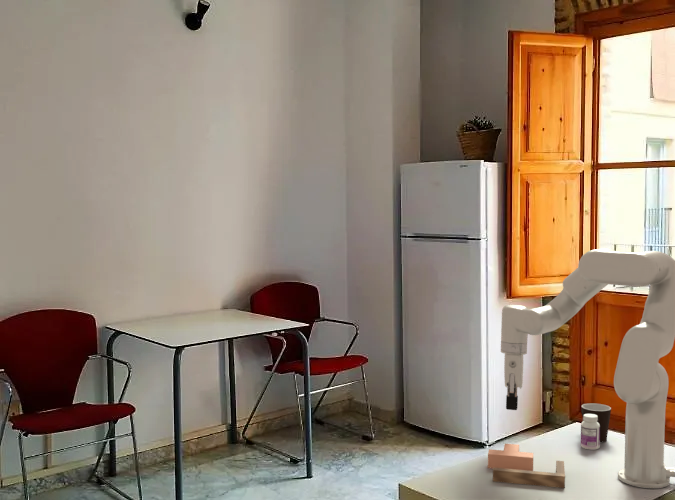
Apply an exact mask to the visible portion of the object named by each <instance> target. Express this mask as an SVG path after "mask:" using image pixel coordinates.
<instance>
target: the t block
mask: <svg viewBox="0 0 675 500" xmlns="http://www.w3.org/2000/svg"><path fill="white" fill-rule="evenodd" d="M493 468H504V469H516V470H527V471H534V452H528V451H520V444H517V443H516V444H515V443H514V444H513V443H504V445H503V450H501V449H492V448H491V449H489V448H488V453H487V469H493Z"/></svg>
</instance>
